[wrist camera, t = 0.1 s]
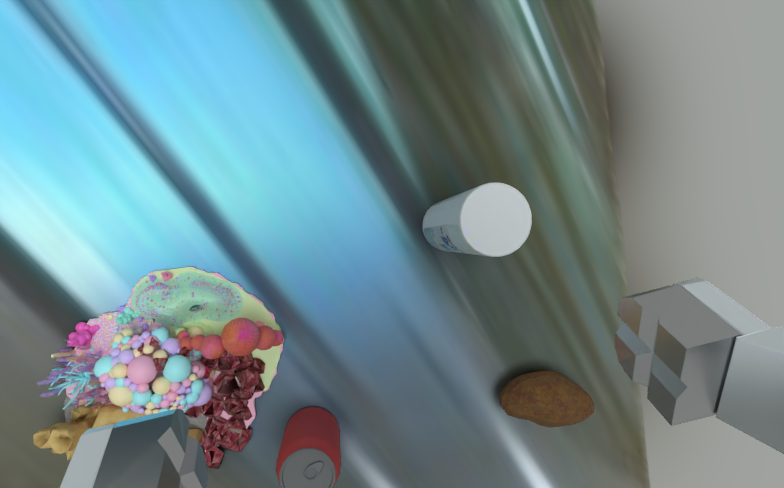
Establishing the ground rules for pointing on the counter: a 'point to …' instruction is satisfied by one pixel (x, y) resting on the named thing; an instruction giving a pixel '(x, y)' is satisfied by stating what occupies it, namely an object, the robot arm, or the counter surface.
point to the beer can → (310, 450)
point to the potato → (546, 399)
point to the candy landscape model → (170, 362)
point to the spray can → (480, 221)
